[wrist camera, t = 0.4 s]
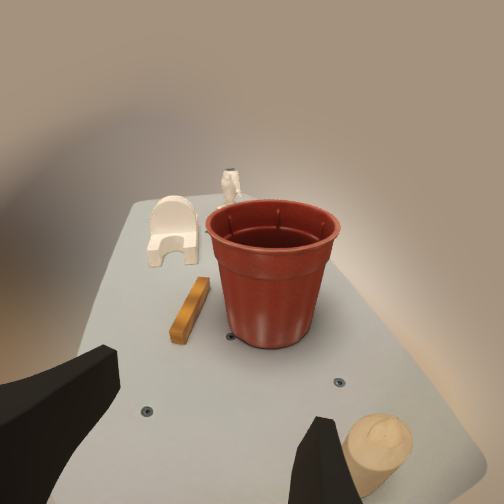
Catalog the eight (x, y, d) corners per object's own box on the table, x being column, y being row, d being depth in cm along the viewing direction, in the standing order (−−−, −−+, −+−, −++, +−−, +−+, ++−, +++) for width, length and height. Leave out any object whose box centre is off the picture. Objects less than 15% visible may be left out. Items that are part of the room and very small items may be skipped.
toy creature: (214, 206, 90) (212, 166, 85) (234, 203, 92) (233, 164, 86) (221, 220, 80) (219, 175, 74) (244, 218, 81) (243, 174, 76)
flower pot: (262, 278, 55) (262, 191, 48) (343, 314, 46) (360, 217, 38) (191, 324, 44) (178, 223, 37) (281, 381, 35) (290, 268, 27)
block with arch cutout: (159, 230, 75) (154, 188, 70) (198, 227, 76) (195, 184, 71) (149, 267, 59) (140, 215, 54) (197, 263, 60) (192, 210, 55)
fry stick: (184, 344, 40) (182, 333, 39) (171, 342, 41) (168, 331, 40) (210, 288, 53) (209, 277, 52) (199, 287, 53) (198, 276, 52)
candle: (345, 446, 26) (372, 393, 21) (388, 467, 23) (429, 419, 18) (315, 484, 22) (338, 442, 18) (362, 508, 19) (402, 474, 15)
